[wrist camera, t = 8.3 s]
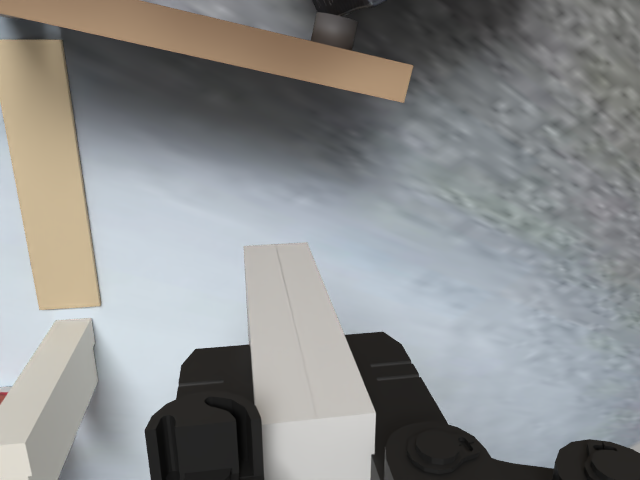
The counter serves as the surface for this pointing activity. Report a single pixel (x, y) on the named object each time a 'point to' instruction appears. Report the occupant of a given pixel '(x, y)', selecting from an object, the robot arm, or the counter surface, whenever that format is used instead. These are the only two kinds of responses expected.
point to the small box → (343, 6)
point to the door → (230, 41)
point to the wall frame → (48, 260)
